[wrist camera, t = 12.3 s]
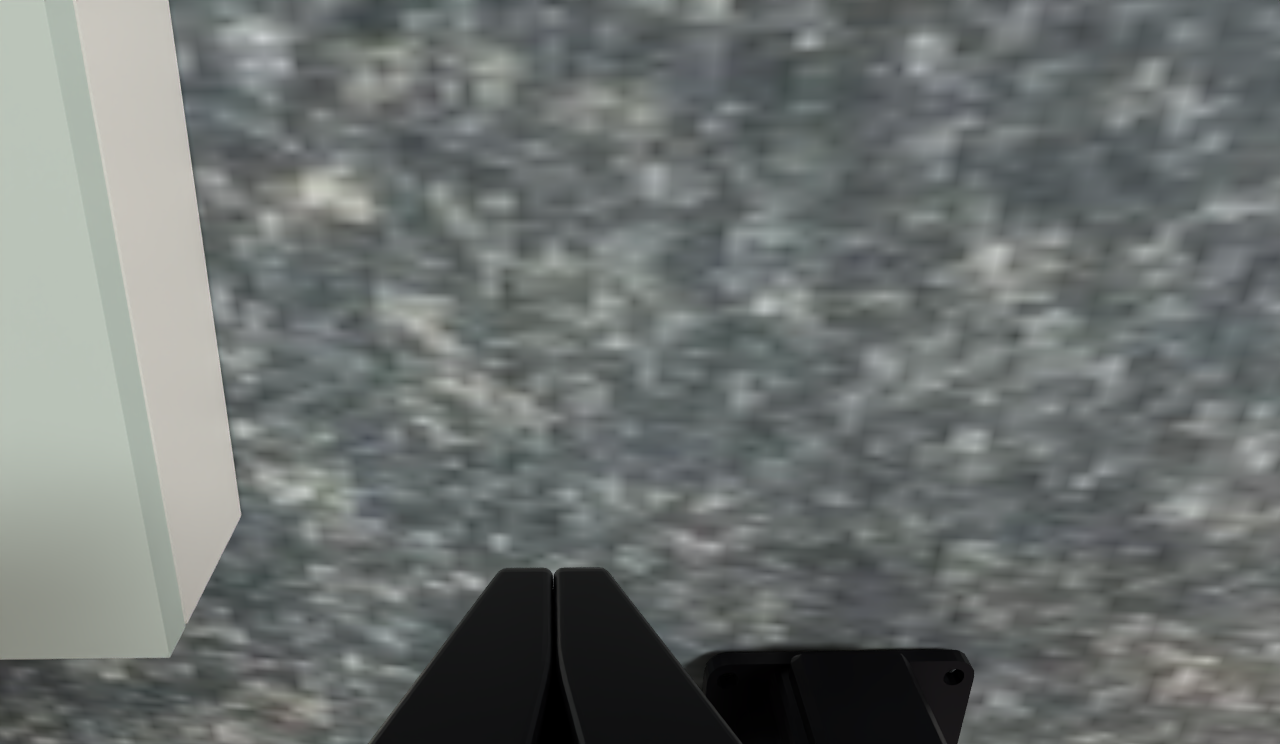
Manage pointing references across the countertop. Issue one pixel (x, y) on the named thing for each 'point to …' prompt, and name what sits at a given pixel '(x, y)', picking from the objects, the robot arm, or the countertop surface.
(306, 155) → the countertop surface
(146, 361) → the cable duct
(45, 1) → the lid
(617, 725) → the robot arm
